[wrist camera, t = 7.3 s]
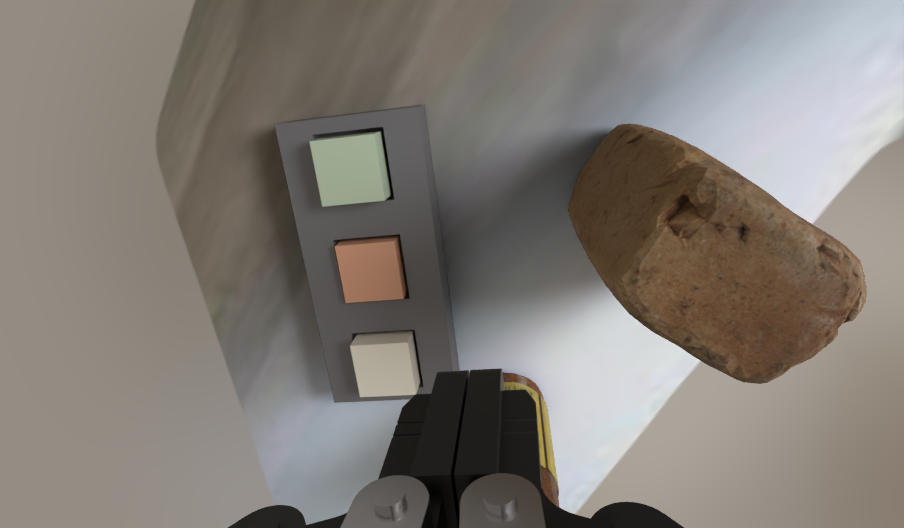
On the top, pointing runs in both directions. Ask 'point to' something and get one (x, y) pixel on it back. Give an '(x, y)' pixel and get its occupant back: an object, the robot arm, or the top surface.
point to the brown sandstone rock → (711, 256)
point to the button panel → (399, 214)
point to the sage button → (351, 169)
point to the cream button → (385, 364)
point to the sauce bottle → (539, 433)
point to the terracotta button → (372, 268)
